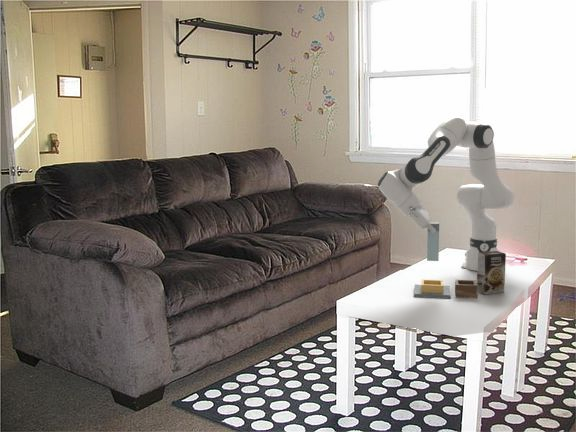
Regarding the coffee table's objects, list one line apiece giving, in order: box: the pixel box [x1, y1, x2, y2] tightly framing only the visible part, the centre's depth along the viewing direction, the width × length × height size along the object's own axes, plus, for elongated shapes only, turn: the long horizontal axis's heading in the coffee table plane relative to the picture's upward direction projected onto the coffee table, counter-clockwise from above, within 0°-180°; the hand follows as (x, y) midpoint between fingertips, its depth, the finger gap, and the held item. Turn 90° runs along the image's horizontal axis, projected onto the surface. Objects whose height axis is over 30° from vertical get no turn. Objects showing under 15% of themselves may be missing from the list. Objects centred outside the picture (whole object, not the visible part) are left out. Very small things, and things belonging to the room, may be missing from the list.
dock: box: [413, 279, 451, 299], centre depth 256 cm, size 14×14×4 cm
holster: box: [454, 279, 478, 299], centre depth 252 cm, size 8×8×5 cm
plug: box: [426, 221, 440, 262], centre depth 253 cm, size 4×4×15 cm
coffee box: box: [476, 251, 507, 295], centre depth 255 cm, size 9×6×16 cm
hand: (434, 230), depth 252 cm, fingers closed on plug, 4 cm apart
